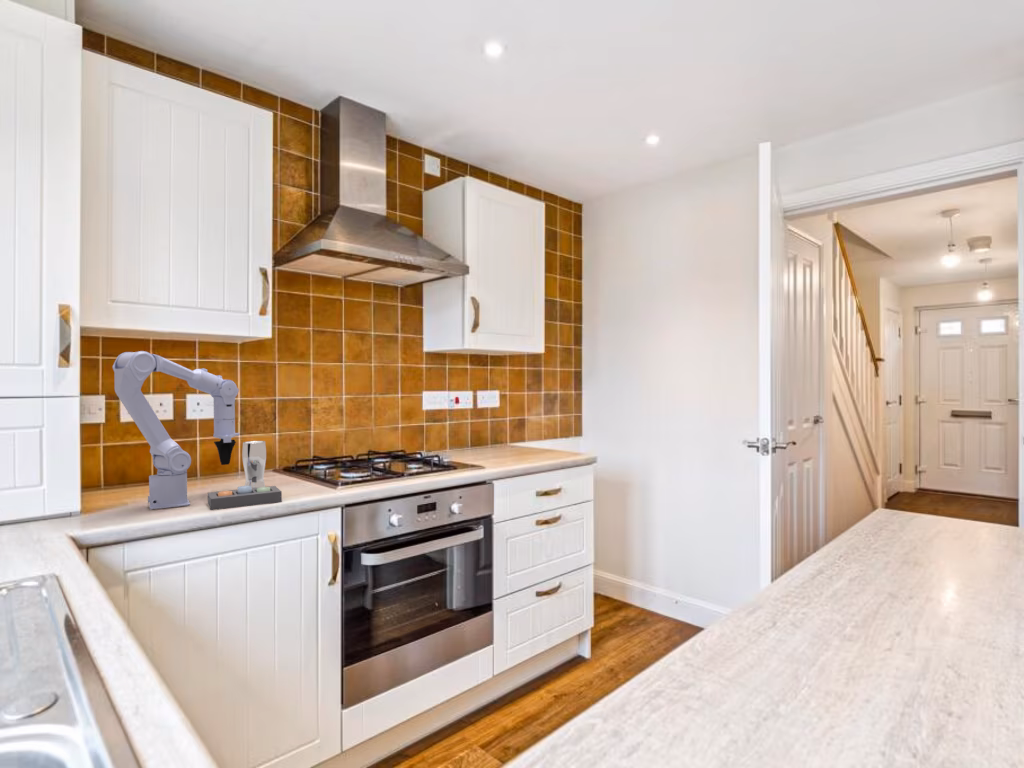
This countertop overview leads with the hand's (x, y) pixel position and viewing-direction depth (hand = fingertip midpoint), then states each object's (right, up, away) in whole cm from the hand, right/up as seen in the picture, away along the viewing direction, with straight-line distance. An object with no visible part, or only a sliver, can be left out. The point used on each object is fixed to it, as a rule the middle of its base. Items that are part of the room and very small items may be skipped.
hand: (225, 464), depth 176 cm
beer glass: (+5, -9, +10) cm, 14 cm away
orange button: (+6, -9, -13) cm, 17 cm away
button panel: (+10, -10, -10) cm, 17 cm away
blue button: (+10, -8, -10) cm, 16 cm away
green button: (+15, -9, -7) cm, 19 cm away
